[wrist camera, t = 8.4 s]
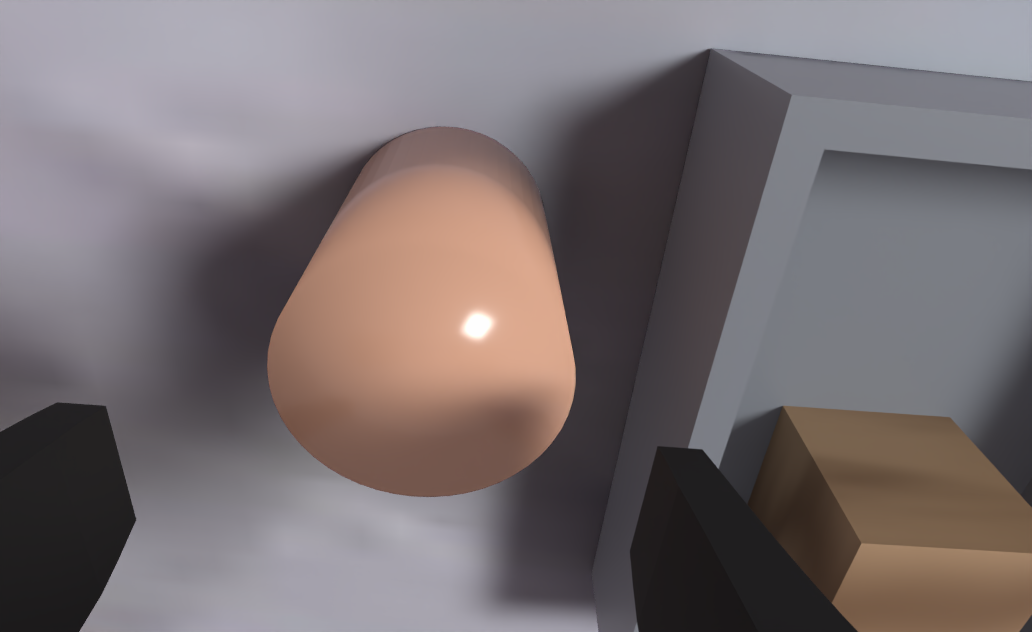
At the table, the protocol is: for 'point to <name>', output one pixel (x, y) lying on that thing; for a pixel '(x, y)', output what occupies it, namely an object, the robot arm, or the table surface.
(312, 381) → the peach rounded capsule
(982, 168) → the tote
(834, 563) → the cube
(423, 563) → the table surface
